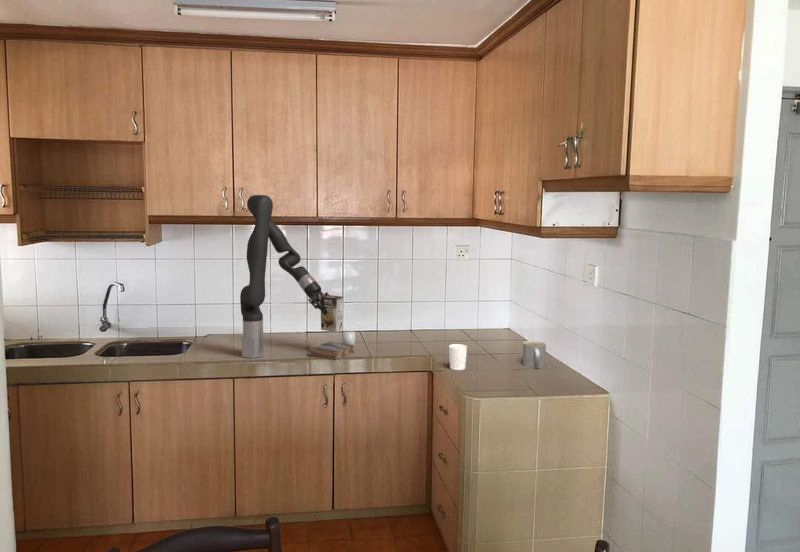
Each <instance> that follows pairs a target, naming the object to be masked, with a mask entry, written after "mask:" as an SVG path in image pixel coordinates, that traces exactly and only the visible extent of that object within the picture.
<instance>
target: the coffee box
mask: <svg viewBox="0 0 800 552" xmlns="http://www.w3.org/2000/svg"><path fill="white" fill-rule="evenodd" d="M321 303H322V305H323V306H324V307H325V309H326V310H327V311H328V313H327V314H326V315H324V314H323V313H322V312H321V311H320V326H321V327H320V330H321V331H326V332H327V331H328V332H334V333H337V332H341V331H344V296H341V295H331V294H329V295H326V296H321Z"/></svg>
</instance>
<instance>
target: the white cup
mask: <svg viewBox="0 0 800 552" xmlns="http://www.w3.org/2000/svg"><path fill="white" fill-rule="evenodd" d="M448 352H449V353H448V355H449V357H448V358H449V368H450V369H451V370H453V371H464V370H465V369H466V365H467V363H466V362H467V355H468V346H467V344H461V343H454V344H452V343H451V344H449V345H448Z"/></svg>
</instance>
